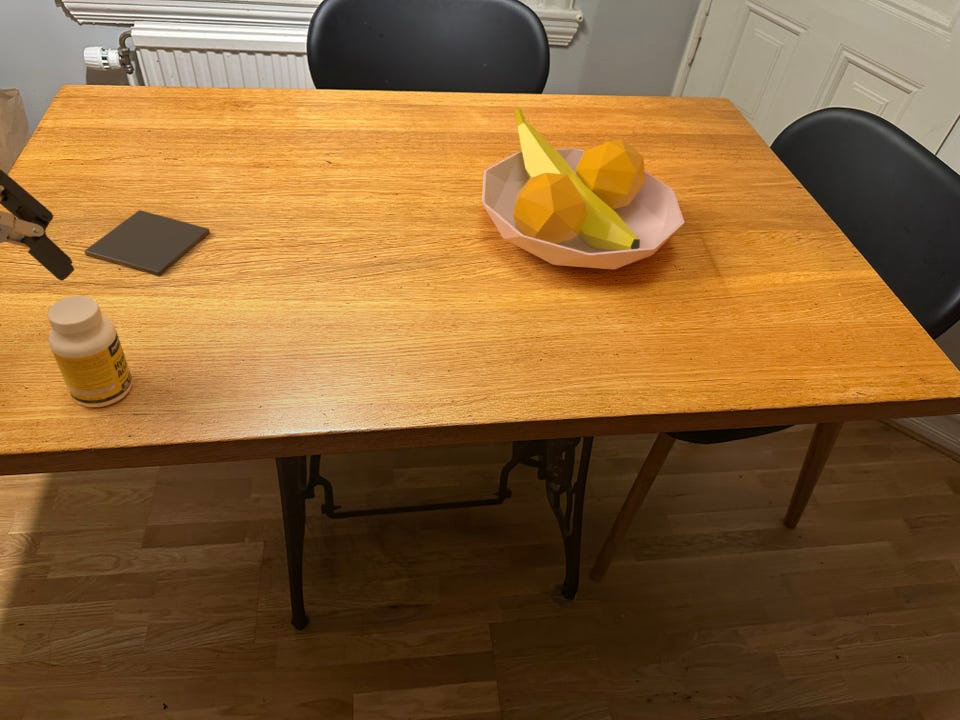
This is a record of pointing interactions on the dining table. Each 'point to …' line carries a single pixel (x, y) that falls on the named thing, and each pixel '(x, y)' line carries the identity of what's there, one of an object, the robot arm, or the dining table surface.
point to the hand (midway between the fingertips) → (33, 301)
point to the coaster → (147, 242)
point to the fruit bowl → (579, 202)
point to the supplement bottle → (88, 352)
